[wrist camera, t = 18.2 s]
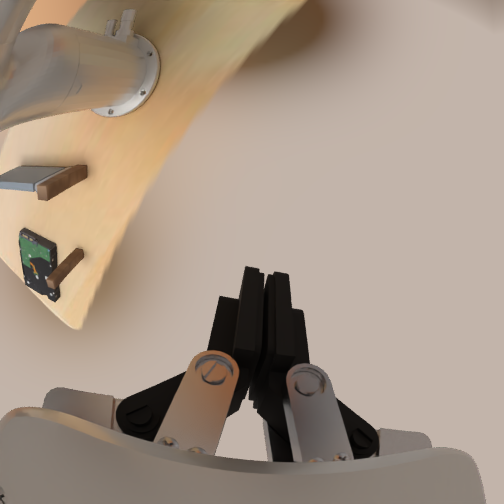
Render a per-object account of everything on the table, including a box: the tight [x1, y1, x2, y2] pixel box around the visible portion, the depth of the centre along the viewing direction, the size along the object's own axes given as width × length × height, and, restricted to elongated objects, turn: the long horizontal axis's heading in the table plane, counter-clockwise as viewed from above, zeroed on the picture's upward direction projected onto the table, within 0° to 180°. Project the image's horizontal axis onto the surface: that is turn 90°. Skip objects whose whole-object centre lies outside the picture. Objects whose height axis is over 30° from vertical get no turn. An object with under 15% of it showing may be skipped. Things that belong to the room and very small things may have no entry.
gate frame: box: [37, 165, 87, 289], centre depth 35 cm, size 18×2×10 cm, turn 162°
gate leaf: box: [0, 166, 72, 192], centre depth 31 cm, size 15×2×8 cm, turn 80°
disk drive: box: [19, 228, 60, 302], centre depth 45 cm, size 10×3×15 cm
